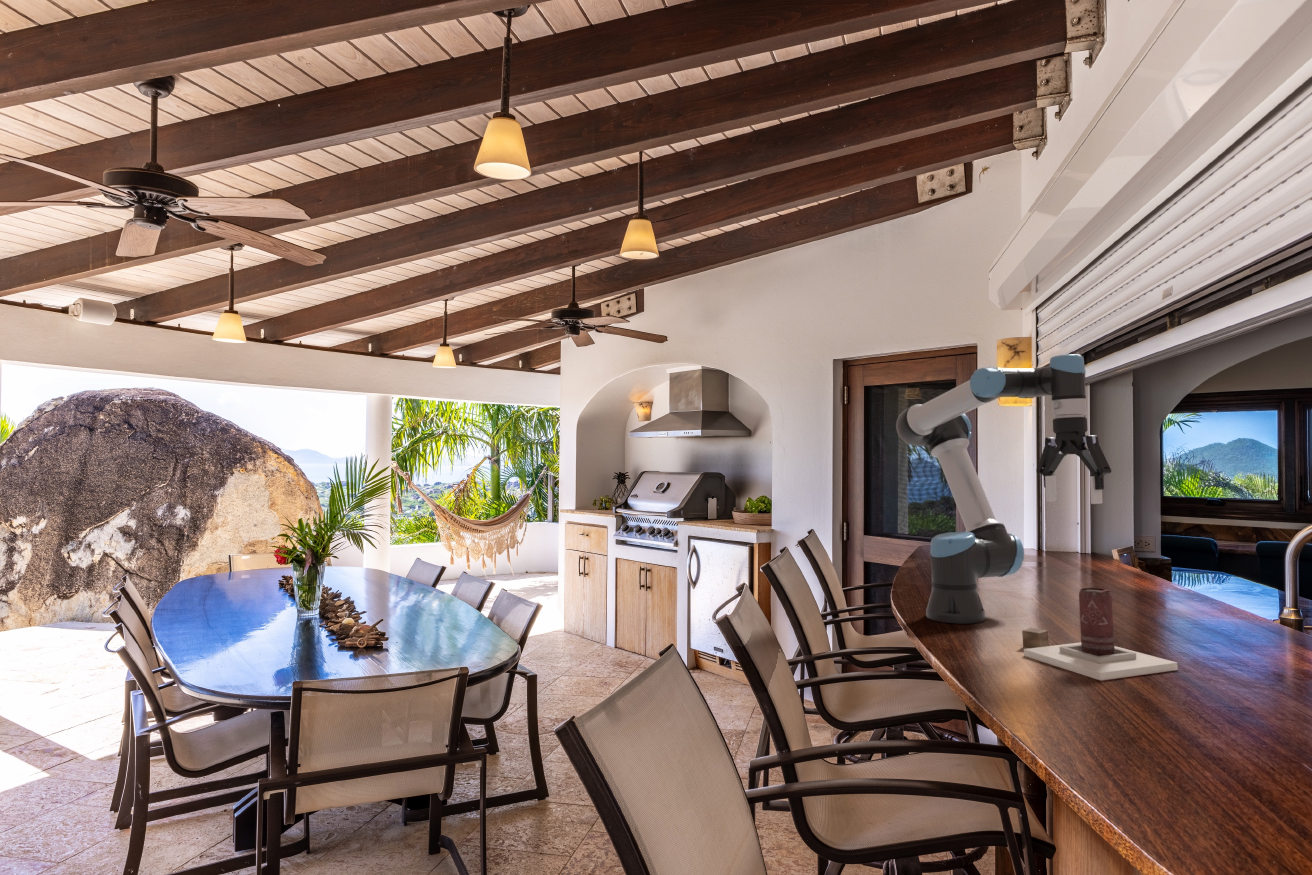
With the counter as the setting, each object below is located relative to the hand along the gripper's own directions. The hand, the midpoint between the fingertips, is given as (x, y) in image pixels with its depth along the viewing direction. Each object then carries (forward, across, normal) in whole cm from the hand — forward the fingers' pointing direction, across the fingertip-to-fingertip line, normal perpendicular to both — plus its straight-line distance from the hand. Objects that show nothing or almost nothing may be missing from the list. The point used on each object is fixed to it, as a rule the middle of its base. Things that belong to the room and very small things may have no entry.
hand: (1073, 502), depth 183 cm
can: (+31, +20, -15) cm, 40 cm away
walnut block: (+33, +5, -18) cm, 38 cm away
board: (+33, +20, -16) cm, 42 cm away
